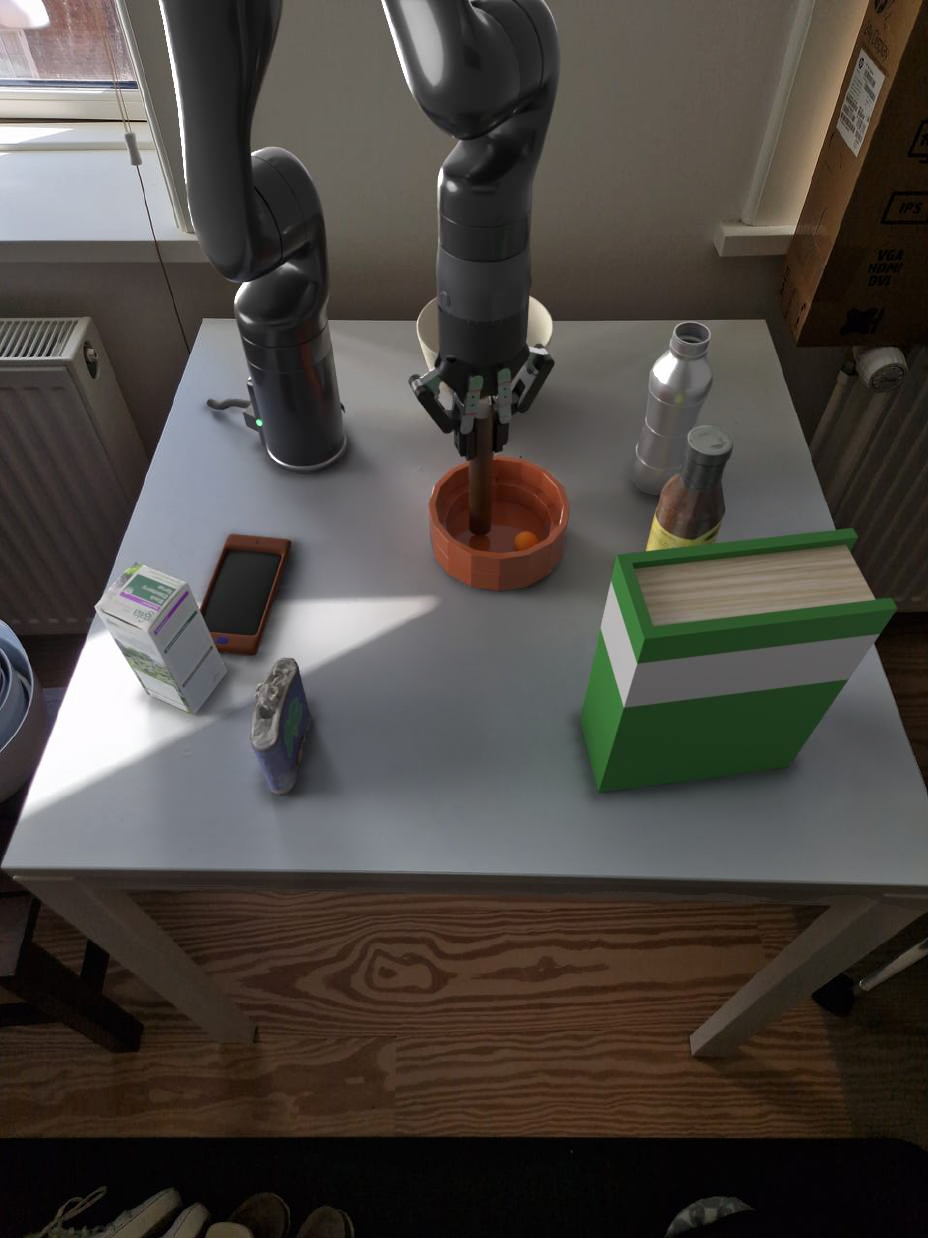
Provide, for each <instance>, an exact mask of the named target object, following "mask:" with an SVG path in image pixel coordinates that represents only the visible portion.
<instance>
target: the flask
mask: <svg viewBox="0 0 928 1238" xmlns="http://www.w3.org/2000/svg"><path fill="white" fill-rule="evenodd" d="M254 693H258V694H254V698H255V699H256V700H255V703H254V708H253V712H252V713H253V714H252V719H251V726H250V732H249V733H250V736H249V741H250V744H251V748H252V751H253V752H254V754H255V757H256V759H257V761H258V764H259V766H260V768H261V771H262V773H263V777H264V779H265V782H266V784H267V786H268V789H269V790H270V792H272V793H273V794H274V795H277V796H278V795H279V796H287V795H288V794H289V793H290V792H291V791H292V790H293V788H294V786H295V784H296V781H297V779H298V775H297V771H298V767H299V764H300V763H301V759H302V758H303V753H304V752H303V751H304V750H303V746H302V745H303V743H304V742H305V741H306V732H307V731H309V726H310V724H311V722H312V721H311V720H312V714H311V711H310V709H309V706H308V705H309V704H308V701H307V696H306V691H305V688H304V683H303V679H302V675H301V670H300V666H299V664H298V662H297V661H296V659H295V658H294V657H281V658H277V660H275V661H274V662H273V663H272V665H271V667H270V669H269V670H268V672H267V674H266V676H265V678H264V680H263V682H259V683H258V684H257V685H256V686H255V688H254Z"/></svg>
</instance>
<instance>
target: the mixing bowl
mask: <svg viewBox="0 0 928 1238" xmlns="http://www.w3.org/2000/svg"><path fill="white" fill-rule="evenodd" d="M570 509H571V504H570V500H569V497H568V495H567V492H566V489H565V487H564V485H563V484H562V483H561V482H560V481H559V480H558V479H557V478H556V476H554V475H553V474H552V473H551V472H550V471H549V470H548V469H547V468H544V467H542V466H540V465H538V464H537V463H534V462H532V461H530V460H527V459H526V458H520V457H514V456H506V455H500V454H497V455H494V457H493V489H492V521H491V530H490V532H489V533H488V534H486V535H483V536H478V535H474V534H473V533H471V531H470V530H469V461H466V460H465V462H462V463H460V464H458V465H455V466H453V467H451V468H450V469H449V470H448V471H447V472H446V473H444V475H443V476H441V478H439V480H438V481H437V482H436V483H435V484H434V486H433V488H432V492H431V494H430V498H429V502H428V524H429V539H430V544H431V548H432V552H433V557H434V558H435V560H436V561H437V563H438V564H439V565H440V566H441V567H442V568H443V570H445V572H446V573H447V574H448V575H449V576H451V577H453V578H455V579H457V580H458V581H460V582H462V583H464V584H465V585H467V586H469V587H471V588H477V589H483V590H489V591H495V592H503V591H510V590H516V589H523V588H526V587H528V586H530V585H532V584H534V583H536V582H538V581H540V580H542V579H544V578H545V577H547V576H549V575H550V573H551V572H552V571H553V570H554V568H555V567H556V566H557V565H558V564H559V562H560V561H561V560H562V558H563V554H564V549H565V543H566V537H567V530H568V524H569V518H570V512H571V511H570ZM524 531H528V532H531V533H533V534H534V535H535V536H536V537H537V539H538V544H537V545H535V546H533V547H531V548H529V549H527V550H522V551H516V550H515V548H514V539H515V537H516V536H517V535H518V534H519V533H521V532H524Z"/></svg>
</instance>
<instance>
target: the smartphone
mask: <svg viewBox="0 0 928 1238" xmlns="http://www.w3.org/2000/svg"><path fill="white" fill-rule="evenodd" d="M291 547H292V540H290V539H288V538H281V537H280V538H279V537H271V536H262V535H261V536H260V535H250V534H238V533H230V534H228V535H227V537H226V539H225V542H224V545H223V546H222V549H221V551H220V555H219V557H218V560H217V563H216V565H215V567H214V570H213V573H212V575H211V578H210V581H209V583H208V586H207V589H206V591H205V593H204V596H203V599H202V602H201V604H200V606H199V610H200V612H201V614H202V616H203V619H204V621H205V623H206V626H207V628H208V630H209V632H210V635H211V637H212V639H213V641H214V644H215V646H216V648H217V650H218V653H219V654H220V653H222V654H229V655H238V656H248V657H253V656H255V655H257V652H258V650H259V647H260V645H261V643H262V639H263V636H264V633H265V629H266V627H267V623H268V620H269V617H270V615H271V611H272V607H273V604H274V601H275V598H276V596H277V592H278V589H279V585H280V583H281V580H282V577H283V573H284V570H285V567H286V564H287V561H288V559H289V558H288V557H289V554H290V551H291Z"/></svg>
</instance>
